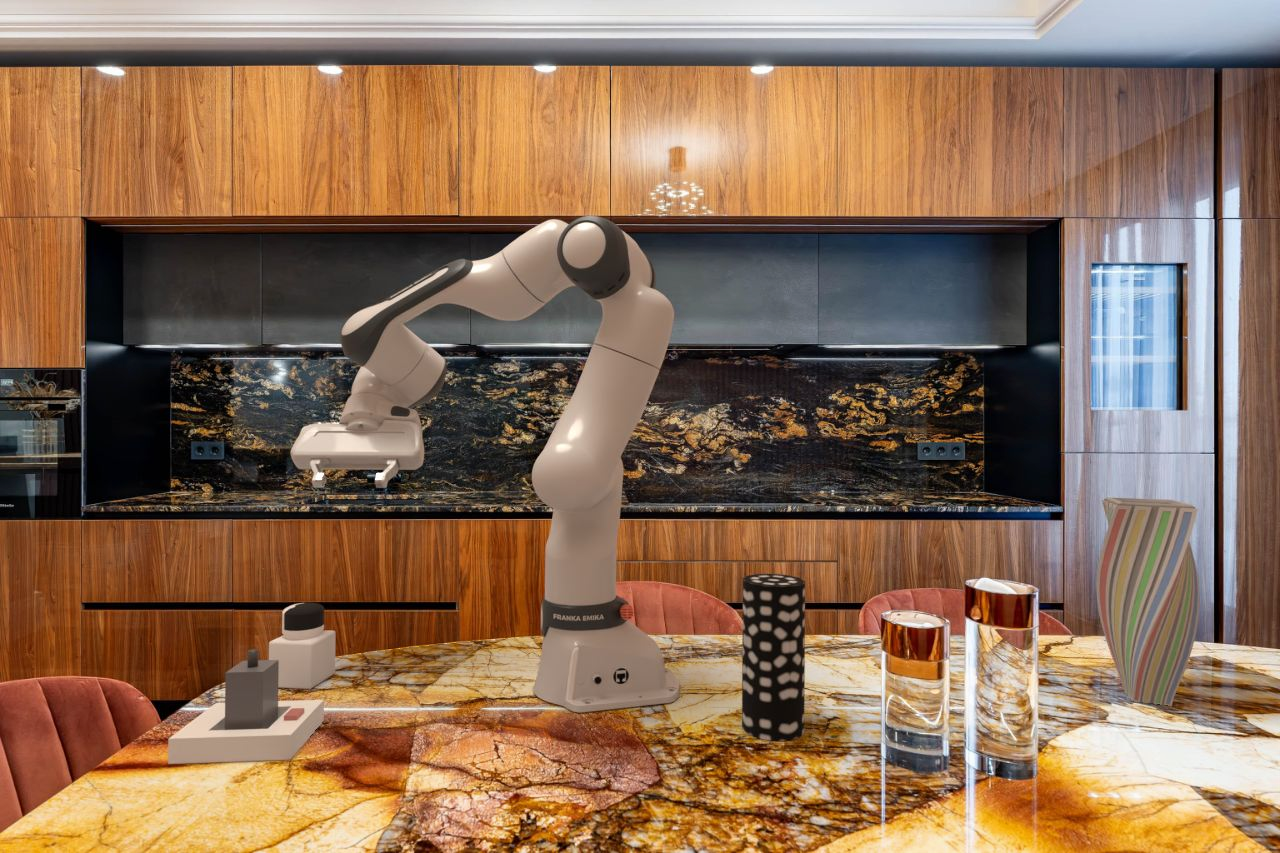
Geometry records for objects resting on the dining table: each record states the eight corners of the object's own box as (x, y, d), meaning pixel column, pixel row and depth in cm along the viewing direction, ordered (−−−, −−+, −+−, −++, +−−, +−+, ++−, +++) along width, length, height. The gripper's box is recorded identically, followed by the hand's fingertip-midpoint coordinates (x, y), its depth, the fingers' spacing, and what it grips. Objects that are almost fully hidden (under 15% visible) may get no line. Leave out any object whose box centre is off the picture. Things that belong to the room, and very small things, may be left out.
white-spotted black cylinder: (809, 721, 96) (810, 577, 96) (797, 746, 88) (797, 589, 88) (751, 711, 99) (752, 571, 99) (734, 733, 92) (735, 582, 92)
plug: (277, 728, 91) (278, 644, 91) (262, 743, 86) (263, 655, 86) (241, 729, 90) (243, 645, 91) (224, 745, 86) (225, 656, 86)
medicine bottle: (336, 673, 113) (336, 600, 113) (311, 689, 106) (311, 611, 106) (294, 671, 114) (295, 599, 114) (267, 687, 107) (268, 610, 107)
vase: (1105, 707, 101) (1105, 503, 102) (1085, 677, 114) (1085, 495, 114) (1219, 722, 96) (1219, 507, 97) (1185, 689, 109) (1185, 499, 109)
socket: (323, 721, 94) (323, 695, 95) (290, 759, 84) (290, 729, 84) (216, 725, 93) (216, 698, 93) (168, 764, 82) (168, 733, 82)
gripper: (299, 408, 114) (273, 471, 104) (426, 410, 116) (412, 471, 106) (309, 435, 119) (285, 498, 109) (431, 436, 120) (418, 498, 111)
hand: (349, 485), depth 107 cm, fingers open, 8 cm apart
